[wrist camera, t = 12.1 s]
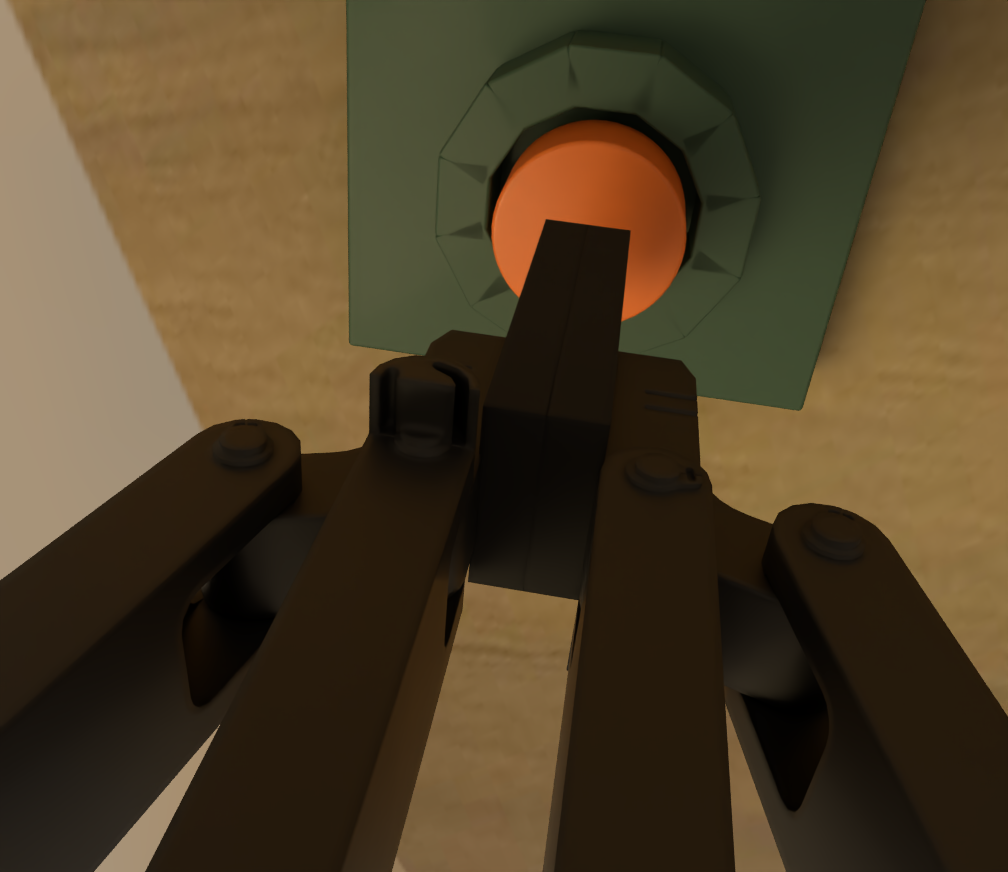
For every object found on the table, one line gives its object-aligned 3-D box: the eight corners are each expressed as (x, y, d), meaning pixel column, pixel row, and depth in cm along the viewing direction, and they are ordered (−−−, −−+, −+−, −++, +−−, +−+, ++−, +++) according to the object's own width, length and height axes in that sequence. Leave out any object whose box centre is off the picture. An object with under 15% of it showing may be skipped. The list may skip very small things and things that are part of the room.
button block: (370, 311, 27) (327, 378, 23) (372, -86, 21) (316, -74, 18) (792, 372, 26) (810, 450, 22) (908, -28, 20) (955, -3, 17)
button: (496, 282, 22) (483, 314, 20) (511, 107, 20) (498, 128, 18) (667, 307, 21) (667, 341, 20) (702, 131, 19) (704, 154, 18)
